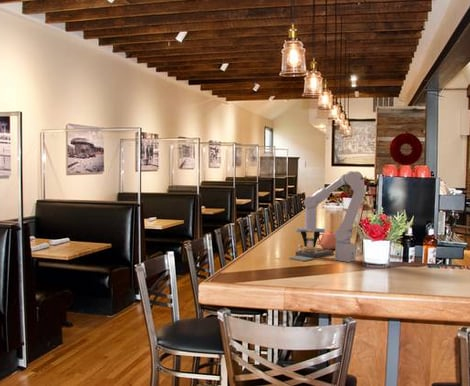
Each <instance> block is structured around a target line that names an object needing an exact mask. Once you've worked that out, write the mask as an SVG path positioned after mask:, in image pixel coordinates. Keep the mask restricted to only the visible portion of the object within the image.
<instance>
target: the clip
mask: <svg viewBox="0 0 470 386" xmlns="http://www.w3.org/2000/svg"><path fill="white" fill-rule="evenodd" d="M297 246H298V251H299V252H302V250H303V245H302V244H301V243H298V244H297Z"/></svg>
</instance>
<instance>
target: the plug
mask: <svg viewBox="0 0 470 386" xmlns="http://www.w3.org/2000/svg"><path fill="white" fill-rule="evenodd" d="M315 248H316V246H315V247H314V237H306V247H305V246H304V247H303V250H306V252H307V253H314V250H315Z"/></svg>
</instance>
